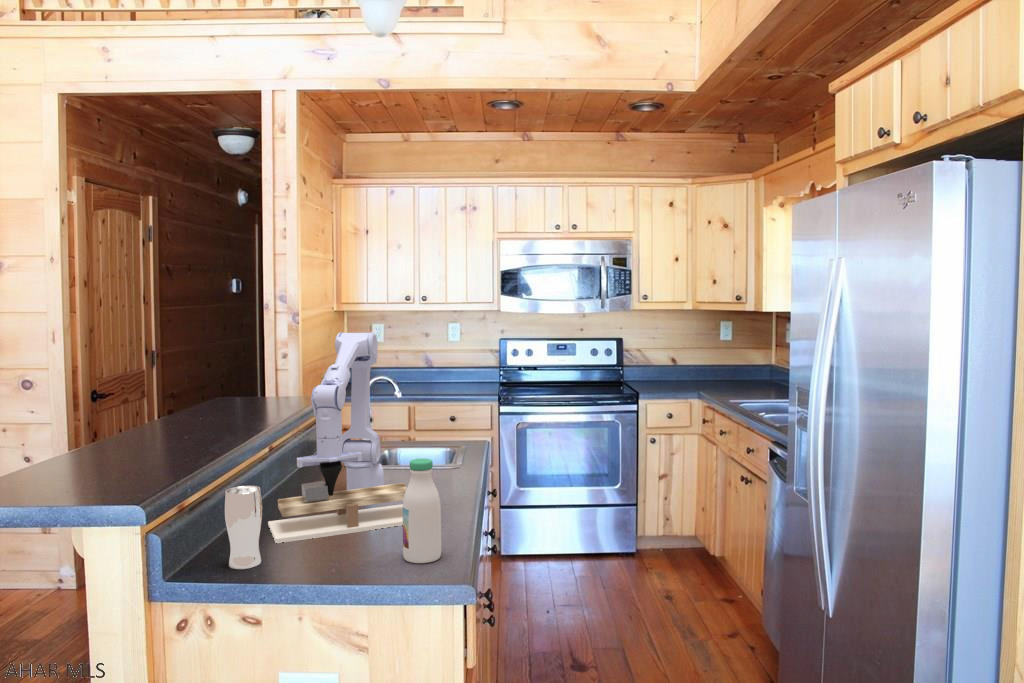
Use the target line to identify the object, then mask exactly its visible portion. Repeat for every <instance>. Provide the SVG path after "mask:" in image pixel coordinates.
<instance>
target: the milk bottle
mask: <svg viewBox="0 0 1024 683" xmlns="http://www.w3.org/2000/svg"><path fill="white" fill-rule="evenodd" d="M433 465H434V464H433V460H432V459H430V458H414V459H411V460H410V461H409V472H410V479H409V482H408V484H407V487H406V488H407V489H406V492H405V494H404V499H403V500H402V504H403V526H402V555H403V559H404V560H405V561H407V562H408V563H413V564H427V563H432V562H436V561H437V560H439V559H440V558H441V557H442V511H441V510H442V509H441V508H442V507H441V498H440V494H439V491H438V488H437V487H436V484H435V483H434V480H433V475H432V472H433V470H434V469H433Z"/></svg>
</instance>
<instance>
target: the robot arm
mask: <svg viewBox="0 0 1024 683" xmlns="http://www.w3.org/2000/svg"><path fill="white" fill-rule="evenodd" d="M334 341H335V342H334V347H335V348H334V349H335V352H336V359H335V361H334V363H333V364H331V365H329V366H328V368H327V370H326V372H325V374H324V376H323V378H322V379H321V382H320V384H317V386H314V387H313V389H312V392H311V398H310V399H311V400H310V402H311V406H312V409H313V410H312V411H313V417H314V418H315V425H316V426H315V427H316V428H315V432H316V433H315V434H316V454H313V455H306V456H300V457H296V467H297V468H303V467H311V466H313V467H314V466H317V467H318V468H319V470H320V472H321V474H322V476H323V478H324V482H325V483H326V484H327V486H328V494H329V495H330V496H333V492H335V487H336V483H337V480H338V477H339V476H340V473H341V471H342V468H343V466H344V467H345V469H346V472H345V473H346V490H352V489H360V488H367V487H375V486H382V485H385V477H384V476H385V475H384V468H383V465H382V464H381V463H379V461H380V459H381V442H380V436H379V433H377V432H376V431H375V430H373V428H371V427H370V397H371V396H370V393H371V392H370V390H371V389H370V388H371V368H372V366H373V365H374V364H375V365H376V364H377V361H378V346H379V345H378V343H379V342H378V338H377V335H376V334H375V333H374V332H373V331H371V332H342V331H341V332H338V333H337V335H336V336H335V340H334ZM350 369H351V371H350ZM350 379H351V398H350V399H351V400H350V405H351V406H350V428H349V429H348V430H346V431H345V432H343V424H342V423H343V422H342V420H343V418H342V414H343V413H342V409H343V408H344V406H345V402H346V395H347V390H346V388H347V387H348V385H349V384H348V383H349V381H350ZM342 464H343V465H342Z"/></svg>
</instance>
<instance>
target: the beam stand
mask: <svg viewBox="0 0 1024 683" xmlns="http://www.w3.org/2000/svg"><path fill="white" fill-rule="evenodd" d="M402 525H403V503H402V504H395V505H387V506H385V505H384V506H379V507H373V508H372V507H370V508H364V509H359V506H358V504H349V505H346V508H343V509H336V512H332V513H324V514H317V515H309V516H301V517H293V518H292V517H291V518H285V519H278V520H269V521H267V526H268V528H270V529H269V532H270V533H272V534H271V536H272V538H274V539H273V541H274V543H275V544H276V543H277V544H282V542H284V543H289V542H290V543H291V542H296V541H297V542H298V541H304V540H311V539H312V538H313V539H318V538H319V539H320V538H326V537H332V536H339V535H340V536H341V535H347V534H353V533H354V534H355V533H362V532H369V530H370V531H376V530H375V529H377V530H382V529H381V528H384V529H388V528H387V527H391V528H395V527H394V526H398V527H403V526H402Z"/></svg>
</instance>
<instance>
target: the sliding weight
mask: <svg viewBox="0 0 1024 683" xmlns="http://www.w3.org/2000/svg"><path fill="white" fill-rule="evenodd" d="M301 496H302V498H303V502H304V504H308V503H315V502H323V501H329V500H328V486H327V484H326V482H325V480H321V481H320V480H319V481H313V482H306V483H301Z"/></svg>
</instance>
